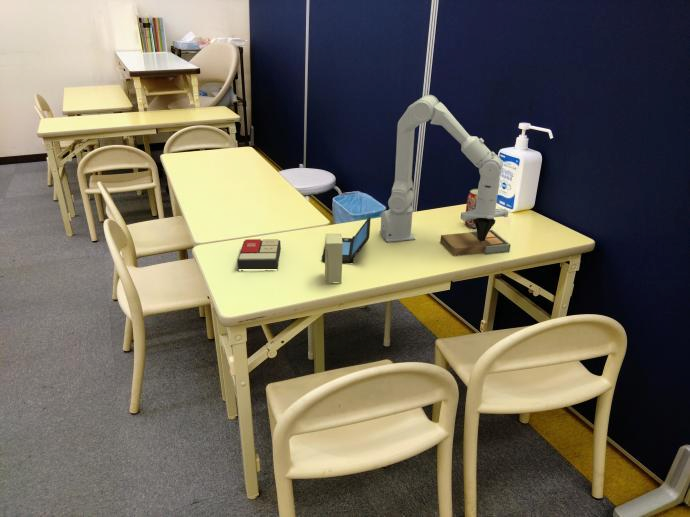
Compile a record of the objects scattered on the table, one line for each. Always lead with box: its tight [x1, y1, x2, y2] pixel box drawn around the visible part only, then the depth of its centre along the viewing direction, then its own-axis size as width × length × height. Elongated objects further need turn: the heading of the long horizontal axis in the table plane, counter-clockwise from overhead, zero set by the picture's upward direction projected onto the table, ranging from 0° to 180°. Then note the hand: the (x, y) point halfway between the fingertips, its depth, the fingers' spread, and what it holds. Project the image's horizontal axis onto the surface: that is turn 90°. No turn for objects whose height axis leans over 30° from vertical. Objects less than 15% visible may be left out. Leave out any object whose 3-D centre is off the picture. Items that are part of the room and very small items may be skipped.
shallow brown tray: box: [439, 231, 485, 257], centre depth 160 cm, size 10×10×2 cm
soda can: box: [464, 188, 478, 229], centre depth 174 cm, size 7×7×12 cm
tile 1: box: [477, 232, 496, 243], centre depth 165 cm, size 4×4×2 cm
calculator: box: [236, 238, 282, 270], centre depth 152 cm, size 11×4×15 cm
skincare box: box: [324, 233, 343, 284], centre depth 139 cm, size 6×4×12 cm
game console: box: [321, 217, 371, 264], centre depth 155 cm, size 16×14×9 cm
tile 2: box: [484, 238, 503, 246], centre depth 160 cm, size 4×4×2 cm
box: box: [469, 229, 511, 255], centre depth 162 cm, size 8×12×2 cm
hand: (480, 240), depth 159 cm, fingers closed
